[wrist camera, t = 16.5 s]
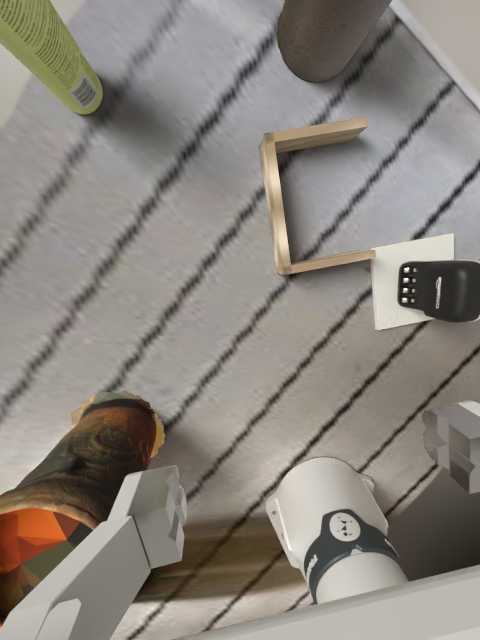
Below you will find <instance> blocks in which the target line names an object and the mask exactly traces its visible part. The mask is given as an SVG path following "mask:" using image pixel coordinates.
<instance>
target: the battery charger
mask: <svg viewBox="0 0 480 640" xmlns="http://www.w3.org/2000/svg"><path fill="white" fill-rule="evenodd" d="M397 300H398V304H399V305H400V306H403V307H406V308H412V309H417V310H421V311H424V314H425V315H426V316H429V317H432V318H435V319H439V320H444V321H448V322H475V321H478V320H480V261H477V260H461V259H453V260H434V261H422V260H414V261H409V262H406V263H404V264H402V265H401V266H400V268H399V277H398V296H397Z"/></svg>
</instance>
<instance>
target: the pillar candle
mask: <svg viewBox="0 0 480 640" xmlns="http://www.w3.org/2000/svg"><path fill="white" fill-rule="evenodd" d="M391 1H392V0H285V3H284V6H283V10H282V12H281V14H280V17H279V22H278V28H277V41H278V47H279V49H280V52H281V54H282V58H283V60H284V62H285V63H286V65H287V66H288V68H289V69H290V70H291V71H292V72H293V73H294V74H295V75H296V76H298V77H300V78H301V79H303V80H305V81H308V82H323V81H327V80H329V79H331V78H333V77H335V76H336V75H338V74H339V73H340V72H341V71H342V70H343V69H344V68H345V66H346V65H347V64H348V62H349V61H350V59H351V58H352V56H353V55H354V53H355V52H356V51H357V49H358V48H359V47H360V45H361V44H362V42H363V41H364V40H365V38H366V37H367V35H368V34H369V32H370V31H371V30H372V28H373V27H374V25H375V24H376V23H377V21H378V20H379V18H380V17H381V15H382V14H383V12H384V11H385V10H386V8H387V7H388V5H389V4H390V2H391Z"/></svg>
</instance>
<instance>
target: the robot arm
mask: <svg viewBox="0 0 480 640" xmlns="http://www.w3.org/2000/svg"><path fill="white" fill-rule="evenodd" d="M422 423H423V424H424V425H425V426H426V427H427V428H426V429H425V431H424V433H423V444H424V446H425V449H426V451H427V453H428V454H429V456H430V457H431V458H432V459H433V460H434V461H435V462H436V463H437V464H438V465H440V466H442V467H445V468H447V469H449V473H450V476H451V477H452V478H453V479H454V480H455V481H456V482H457V483H459V485H460V486H462V487H463V488H464V489H465V490H466V491H467V492H468V493H469V494H471V493H476V492H480V404H479V403H477V402H475V401H470V400H467V401H463V402H459V403H455V404H453V405H448V406H444V407H439V408H435V409H430V410H426V411H424V412H423V414H422ZM179 480H180V473H179V469H178V466H177V465H171V466H165V467H160V468H155V469H150V470H145V471H140V472H135V473H131V474H128V475H127V476H126V477H125V479H124V481H123V484H122V486H121V489H120V491H119V493H118V496H117V498H116V501H115V503H114V505H113V508H112V510H111V513H110V515H109V517H108V520H107V521H105V522H102V523H100V524H99V525H98V526H97V527H96V528H95V529H94V530H93V531H92V532H91V533H90V534H89V535H88V536H87V537H86V538H85V539H84V540H83V541H82V542H81V543H80V544H79V545H78V546H77V547H76V548H75V549H74V550H73V551H72V552H71V553H70V554H69V555H68V556H67V557H66V558H65V559H64V560H63V561H62V562H61V563H60V564H59V565H58V566H57V567H56V568H55V569H54V570H53V571H52V572H51V573H50V574H49V575H48V576H47V577H46V578H44V579H43V580H42V581H41V582H40V583H39V584H38V585H37V586H36V587H35V588H34V589H33V590H32V591H31V592H30V593H29V594H28V595H27V596H26V597H25V598H24V599H23V600H22V601H21V602H20V603H19V604H18V605H17V606H16V607H15V608H14V609H13V610H12V611H11V612H10V613H9V615H8V617H7V619H6V620H5V622H4V624H3V625H2V627H1V629H0V640H109V639H110V638H111V636H112V634H113V633H114V631H115V629H116V628H117V626H118V624H119V623H120V621H121V619H122V618H123V616H124V614H125V613H126V611H127V609H128V608H129V606H130V604H131V603H132V601H133V600H134V598H135V596H136V595H137V593H138V591H139V590H140V588H141V586H142V585H143V583H144V581H145V580H146V578H147V576H148V575H149V573H150V571H151V570H150V569H152V568H156V567H159V566H163V565H167V564H171V563H174V562H178V561H181V560H182V551H183V543H184V534H183V530H182V527H183V525H184V524H185V522H186V516H187V502H186V495H185V491H184V487H183V486H182V485H180V484H179ZM373 490H374V484H373V482H372V480H371V478H370V477H368V476H366V475H363V474H359V473H357V472H356V471H355V470H354V469H352V468H351V467H350V466H349V465H348V464H347V463H345V462H343V461H341V460H338V459H335V458H328V457H321V458H314V459H310V460H307V461H305V462H303V463H301V464H299V465H297V466H296V467H294V468H293V469H292V470H291V471H289V472H288V474H287V475H286V476H285V477H284V478H283V480H282V482H281V484H280V485H279V487H278V489H277V490H276V492H275V493H273V494H272V495H271V496H270V497H269V498H268V499H267V500H266V501H265V504H264V505H265V509H266V511H267V514H268V516H269V518H270V520H271V522H272V525H273V527H274V529H275V531H276V533H277V535H278V538H279V540H280V542H281V544H282V546H283V549H284V551H285V553H286V555H287V557H288V559H289V562H290V564H291V565H292V566H293V567H295V568H300V570H301V572H302V574H303V576H304V578H305V580H306V582H307V585H308V588H309V591H310V594H311V596H312V598H313V601H314V603H315V605H312V606H308V607H304V608H300V609H296V610H292V611H287V612H283V613H279V614H275V615H271V616H267V617H263V618H259V619H255V620H251V621H246V622H242V623H238V624H234V625H230V626H226V627H222V628H218V629H214V630H210V631H205V632H201V633H197V634H193V635H189V636H185V637H181V638H177V639H173V640H480V565H476V566H472V567H468V568H464V569H460V570H456V571H452V572H448V573H444V574H440V575H436V576H431V577H427V578H423V579H419V580H415V581H411V582H409V581H408V580H407V578H406V576H405V570H404V567H403V565H402V563H401V561H400V559H399V556H398V554H397V552H396V551H395V549H394V547H393V546H392V544H391V543H390V542H389V541H388V539H387V533H388V530H387V528H388V527H389V526H388V523H387V520H386V519H385V517H384V515H383V513H382V512H381V510H380V508H379V506H378V505H377V503H376V501H375V499H374V498H373Z"/></svg>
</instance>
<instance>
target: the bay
mask: <svg viewBox="0 0 480 640" xmlns="http://www.w3.org/2000/svg"><path fill="white" fill-rule="evenodd" d="M366 127H367V117H362V118H356V119H350V120H344V121H338V122H332V123H326V124H320V125H314V126H308V127H302V128H296V129H290V130H284V131H278V132H272V133H266V134H264V136H263V139H262V141H261V144H260V146H259V150H260V157H261V164H262V171H263V178H264V185H265V191H266V198H267V205H268V212H269V219H270V226H271V233H272V239H273V246H274V253H275V260H276V267H277V273H278V274H282V275H287V274H292V273H298V272H303V271H308V270H313V269H319V268H324V267H329V266H335V265H340V264H345V263H350V262H356V261H361V260H366V259H372V258H376V252H375V250H361V251H354V252H349V253H344V254H338V255H333V256H328V257H322V258H317V259H312V260H306V261H301V262H296V263H291V262H290V254H289V247H288V239H287V232H286V224H285V217H284V209H283V202H282V195H281V187H280V180H279V172H278V165H277V157H276V153H281V152H287V151H293V150H299V149H305V148H311V147H317V146H323V145H329V144H335V143H340V142H346V141H351V140H352V139H354V138H355V137H356V136H357V135H358V134H359V133H361V132H362V131H363V130H364V129H365V128H366Z"/></svg>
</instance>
